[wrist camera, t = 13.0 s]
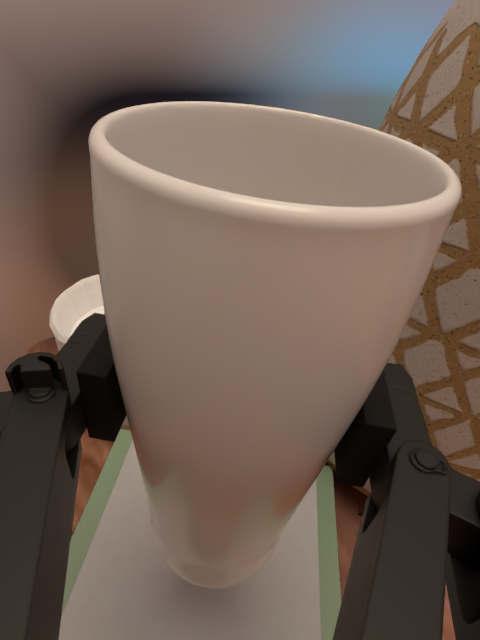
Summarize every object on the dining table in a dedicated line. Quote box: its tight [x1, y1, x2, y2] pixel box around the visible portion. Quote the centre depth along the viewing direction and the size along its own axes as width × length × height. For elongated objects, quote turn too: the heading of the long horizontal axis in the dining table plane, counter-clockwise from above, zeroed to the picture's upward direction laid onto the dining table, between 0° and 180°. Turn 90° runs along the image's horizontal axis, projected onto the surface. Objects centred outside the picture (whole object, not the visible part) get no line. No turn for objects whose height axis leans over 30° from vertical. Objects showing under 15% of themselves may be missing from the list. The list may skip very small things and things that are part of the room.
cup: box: [50, 275, 130, 430], centre depth 33 cm, size 10×10×10 cm
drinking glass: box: [89, 101, 462, 588], centre depth 12 cm, size 7×7×15 cm
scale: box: [59, 429, 342, 640], centre depth 23 cm, size 16×16×4 cm
